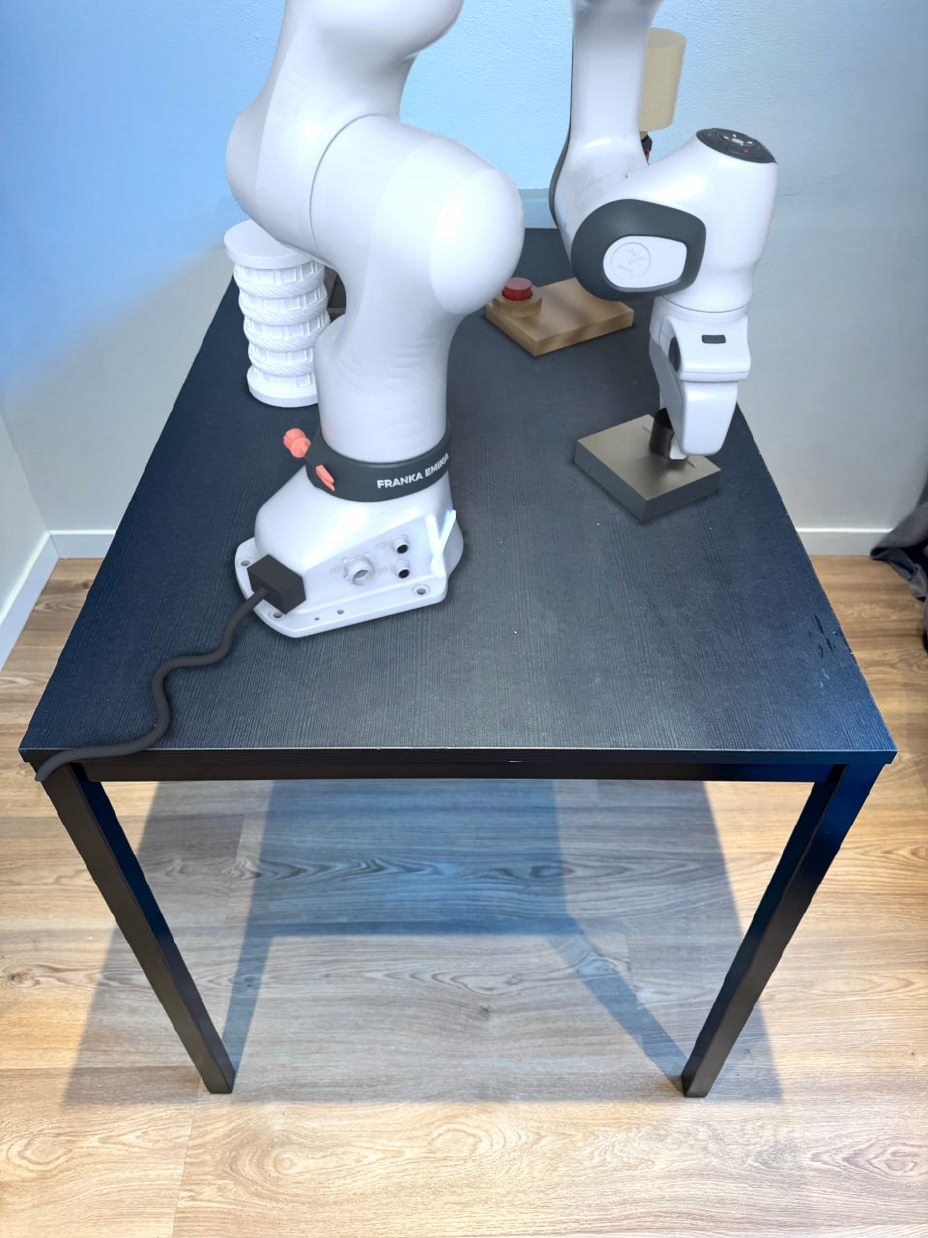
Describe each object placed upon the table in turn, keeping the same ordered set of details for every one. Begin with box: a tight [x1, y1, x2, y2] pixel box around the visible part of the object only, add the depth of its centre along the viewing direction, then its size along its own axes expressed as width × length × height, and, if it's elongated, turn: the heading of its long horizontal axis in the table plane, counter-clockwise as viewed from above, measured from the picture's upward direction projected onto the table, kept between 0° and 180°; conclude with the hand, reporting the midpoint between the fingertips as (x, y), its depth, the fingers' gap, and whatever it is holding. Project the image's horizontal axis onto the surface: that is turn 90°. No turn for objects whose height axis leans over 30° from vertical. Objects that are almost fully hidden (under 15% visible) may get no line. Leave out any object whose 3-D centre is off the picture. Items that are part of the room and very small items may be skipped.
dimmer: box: [574, 413, 722, 523], centre depth 95 cm, size 12×12×3 cm
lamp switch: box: [504, 276, 532, 301], centre depth 116 cm, size 4×4×2 cm
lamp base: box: [485, 277, 635, 357], centre depth 118 cm, size 16×12×4 cm
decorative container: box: [223, 218, 331, 408], centre depth 102 cm, size 12×12×18 cm
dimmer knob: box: [649, 407, 674, 458], centre depth 93 cm, size 4×4×4 cm
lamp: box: [639, 26, 688, 140], centre depth 106 cm, size 9×9×30 cm
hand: (671, 439), depth 94 cm, fingers closed on dimmer knob, 4 cm apart
